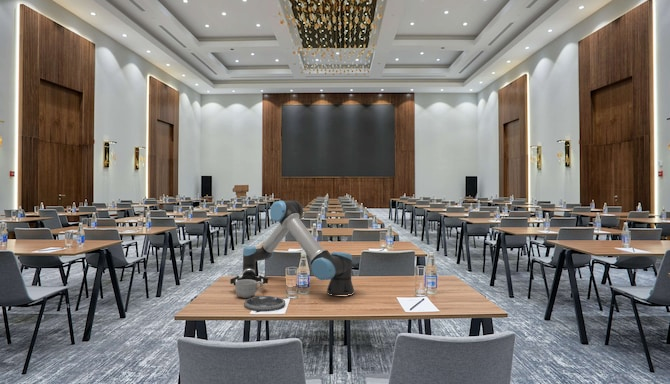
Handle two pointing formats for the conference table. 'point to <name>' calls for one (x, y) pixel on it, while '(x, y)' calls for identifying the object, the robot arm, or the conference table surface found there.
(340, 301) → the conference table surface
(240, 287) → the teacup
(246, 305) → the dark grey plate
